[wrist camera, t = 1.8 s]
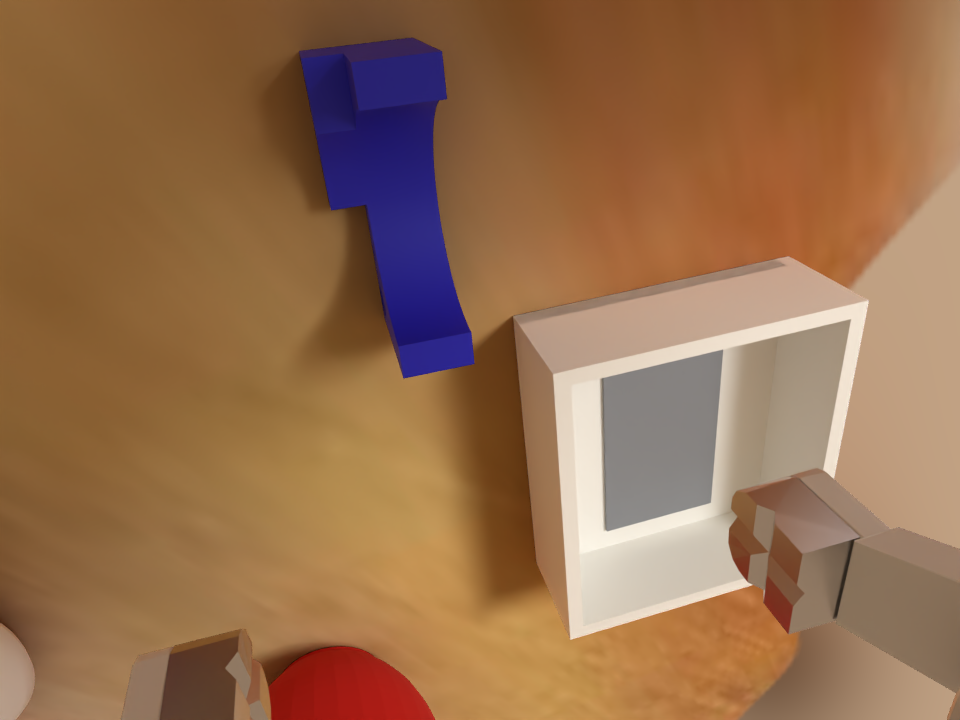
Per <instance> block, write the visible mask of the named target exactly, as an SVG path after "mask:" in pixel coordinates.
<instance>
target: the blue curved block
mask: <svg viewBox="0 0 960 720" xmlns="http://www.w3.org/2000/svg"><path fill="white" fill-rule="evenodd" d="M299 54H300V59H301V64H302V69H303V74H304V79H305V84H306V89H307V94H308V99H309V104H310V109H311V114H312V119H313V124H314V129H315V134H316V139H317V144H318V149H319V154H320V159H321V164H322V169H323V174H324V179H325V184H326V189H327V194H328V199H329V203H330V208H331V210H337V209H343V208H349V207H356V206H362V205H365V208H366V213H367V219H368V225H369V231H370V236H371V242H372V248H373V254H374V259H375V265H376V271H377V277H378V282H379V288H380V294H381V300H382V305H383V311H384V317H385V321H386V324H387V327H388V330H389V333H390V337H391V340H392V343H393V346H394V349H395V353H396V356H397V359H398V362H399V365H400V369H401V372H402V375H403V378H408V377H413V376H418V375H423V374H428V373H433V372H437V371H442V370H447V369H452V368H457V367H462V366H467V365H472V364H474V354H473V345H472V335H471V331H470V329H469V327H468V325H467V322H466V320H465V317H464V315H463V312H462V309H461V306H460V303H459V300H458V297H457V294H456V290H455V287H454V283H453V279H452V275H451V271H450V267H449V263H448V258H447V254H446V249H445V244H444V238H443V233H442V227H441V221H440V215H439V208H438V201H437V193H436V184H435V173H434V158H433V125H434V115H435V110H436V106H437V103H438V101H439V100H444V99H447V95H446V85H445V76H444V66H443V56H442V51H440V50H438V49H436V48H434V47H432V46H429V45H427V44H425V43H423V42H421V41H419V40H416V39H414V38H405V39H397V40H388V41H380V42H371V43H363V44H354V45H346V46H338V47H329V48H321V49H312V50H304V51H299Z"/></svg>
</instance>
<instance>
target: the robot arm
mask: <svg viewBox="0 0 960 720" xmlns="http://www.w3.org/2000/svg"><path fill="white" fill-rule="evenodd" d="M731 509H732V511H733V512H734V513H735V514H736V515H737V518H736V520H735V521H734V522H733V524H732V525H731V526H730V528H729V538H728V544H729V548H730V551H731V555H732V559H733V561H734V563H735V565H736V566H737V568H738V570H739V572H740V573H741V574H742V576H743V577H744V578H745V580H746V581H747V582H748V583H750V584H752V585H755V586H757V587H759V588H761V589H763V590H764V601H763V603H764V604H765V605H766V606H767V608H768V609H769V610H770V612H771V613H772V614H773V615H774V617H775V618H776V619H777V620H778V622H779V623H780V624H781V625H782V627H783V628H784V629H785V630H786V632H787V633H788V634H791V633H795V632H798V631H801V630H805V629H808V628H812V627H815V626H819V625H822V624H826V623H829V622H833V621H836V624H837V625H839V626H841V627H843V628H844V629H846V630H848V631H849V632H851V633H853V634H855V635H856V636H858V637H860V638H862V639H864V640H865V641H867V642H869V643H870V644H872V645H874V646H876V647H877V648H879V649H881V650H882V651H884V652H886V653H888V654H889V655H891V656H893V657H894V658H896V659H898V660H900V661H901V662H903V663H905V664H907V665H909V666H910V667H912V668H914V669H915V670H917V671H919V672H921V673H922V674H924V675H926V676H927V677H929V678H931V679H933V680H934V681H936V682H938V683H939V684H941V685H943V686H945V687H946V688H948V689H950V690H952V691H953V692H955V693H956V695H955V698H954V701H953V704H952V706H951V708H950V711H949V714H948V717H947V720H960V549H958V548H955V547H952V546H950V545H947V544H944V543H941V542H938V541H936V540H933V539H930V538H927V537H925V536H922V535H919V534H916V533H913V532H911V531H908V530H905V529H902V528H899V527H898V528H895V529H890V528H889V527H888V526H886V525H885V524H884V523H883V522H882V521H881V520H880V519H879V518H877V517H876V516H875V515H874V514H873V513H872V512H871V511H869V510H868V509H867V508H866V507H865V506H864V505H863V504H862V503H860V502H859V501H858V500H857V499H856V498H855V497H854V496H853V495H851V494H850V493H849V492H848V491H847V490H846V489H845V488H843V487H842V486H841V485H840V484H839V483H838V482H837V481H836V480H834V479H833V478H832V477H831V476H830V475H829V474H828V473H827V472H825V471H824V470H821V469H818V468H815V469H811V470H808V471H804V472H801V473H797V474H794V475H790V476H789V477H782V478H779V479H775V480H772V481H769V482H765V483H762V484H758V485H755V486H751V487H748V488H744V489H741V490H738V491H736V492H735V494H734V495H733V497H732V504H731ZM121 720H271V705H270V697H269V689H268V684H267V680H266V677H265V673H264V670H263V668H262V666H261V663H260V662H258V661H256V660H254V659H252V642H251V640H250V638H249V636H248V634H247V631H246V629H239V630H235V631H231V632H227V633H223V634H219V635H215V636H211V637H207V638H203V639H199V640H195V641H191V642H187V643H183V644H179V645H175V646H173V647H169V648H165V649H161V650H158V651H154V652H150V653H146V654H142V655H139V656H138V657H137V659H136V661H135V662H134V664H133V666H132V669H131V674H130V679H129V684H128V688H127V693H126V698H125V702H124V707H123V712H122V717H121Z"/></svg>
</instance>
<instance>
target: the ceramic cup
mask: <svg viewBox="0 0 960 720" xmlns="http://www.w3.org/2000/svg"><path fill="white" fill-rule="evenodd" d="M268 689H269V697H270V705H271V720H435V718H434V716H433V714H432V712H431V710H430V709H429V707H428V705H427V703H426V702H425V700H424V699H423V697H422V696H421V695H420V694H419V692H418V691H417V690H416V689H415V687H414V686H413V685H412V684H411V683H410V681H409V680H408V679H407V678H406V677H405V676H404V675H402V674H401V673H400V672H398V671H397V670H396V669H394V668H393V667H391V666H390V665H389V664H387V663H385V662H384V661H382V660H380V659H378V658H375V657H374V656H373V655H371V654H370V653H368V652H366V651H364V650H361V649H358V648H353V647H343V646H340V647H329V648H324V649H319V650H317V651H314V652H311V653H308V654H306V655H304V656H302V657H300V658H299V659H297V660H296V661H294V662H293V663H292V664H290V665H289V666H288V667H287V668H286V669H285V671H284V672H283V673H282V674H281V675H280V676H279V677H278V678H277V679H276V680H275V681H274V682H273V683H272V684H271V685H270V686H269V687H268Z"/></svg>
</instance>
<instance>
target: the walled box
mask: <svg viewBox="0 0 960 720" xmlns="http://www.w3.org/2000/svg"><path fill="white" fill-rule="evenodd" d="M868 303H869V300H867V299H866V298H864V297H862V296H860V295H858V294H856V293H855V292H853V291H851V290H849V289H847V288H846V287H844V286H842V285H840V284H838V283H836V282H835V281H833V280H831V279H829V278H827V277H825V276H824V275H822V274H820V273H818V272H816V271H815V270H813V269H811V268H809V267H807V266H805V265H804V264H802V263H800V262H798V261H796V260H795V259H793V258H791V257H789V256H787V257H783V258H778V259H774V260H769V261H764V262H760V263H755V264H751V265H746V266H741V267H737V268H732V269H728V270H723V271H718V272H714V273H709V274H705V275H700V276H695V277H691V278H686V279H681V280H677V281H672V282H668V283H663V284H658V285H654V286H649V287H645V288H640V289H635V290H631V291H626V292H622V293H617V294H612V295H608V296H603V297H599V298H594V299H589V300H585V301H580V302H575V303H571V304H566V305H562V306H557V307H552V308H548V309H543V310H539V311H534V312H529V313H525V314H520V315H516V316H513V321H514V332H515V343H516V353H517V364H518V374H519V385H520V395H521V406H522V416H523V427H524V437H525V448H526V458H527V469H528V479H529V490H530V500H531V511H532V521H533V532H534V542H535V553H536V563H537V565H538V567H539V570H540V572H541V574H542V576H543V579H544V581H545V583H546V586H547V588H548V590H549V592H550V595H551V597H552V599H553V601H554V604H555V606H556V608H557V610H558V613H559V615H560V617H561V620H562V622H563V624H564V626H565V629H566V631H567V633H568V635H569V638H570V640H571V639H574V638H578V637H581V636H584V635H588V634H591V633H594V632H598V631H601V630H604V629H608V628H611V627H614V626H618V625H621V624H624V623H628V622H631V621H634V620H638V619H641V618H644V617H648V616H651V615H654V614H658V613H661V612H664V611H668V610H671V609H674V608H678V607H681V606H684V605H688V604H691V603H694V602H698V601H701V600H704V599H708V598H711V597H714V596H718V595H721V594H724V593H728V592H731V591H734V590H738V589H741V588H744V587H748V586H751V585H752V584H750V583H748V582H747V581H746V580H745V578H744V577H743V576H742V574H741V573H740V572H739V570H738V568H737V566H736V565H735V563H734V561H733V559H732V555H731V551H730V548H729V544H728V538H729V528H730V526H731V525H732V524H733V522H734V521H735V520H736V518H737V515H736V514H735V513H734V512H733V511H732V509H731V504H732V497H733V495H734V494H735V492H736V491H738V490H741V489H744V488H748V487H751V486H755V485H758V484H762V483H765V482H769V481H772V480H775V479H779V478H782V477H789V476H790V475H794V474H797V473H801V472H804V471H808V470H811V469H815V468H818V469H821V470H824V471H825V472H827V473H828V474H829V475H830V476H831V477H832V478H833V479H834V476H835V471H836V466H837V461H838V455H839V450H840V445H841V440H842V435H843V430H844V425H845V420H846V415H847V409H848V405H849V399H850V394H851V389H852V384H853V379H854V374H855V369H856V364H857V359H858V354H859V349H860V344H861V338H862V333H863V328H864V323H865V318H866V313H867V308H868Z"/></svg>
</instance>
